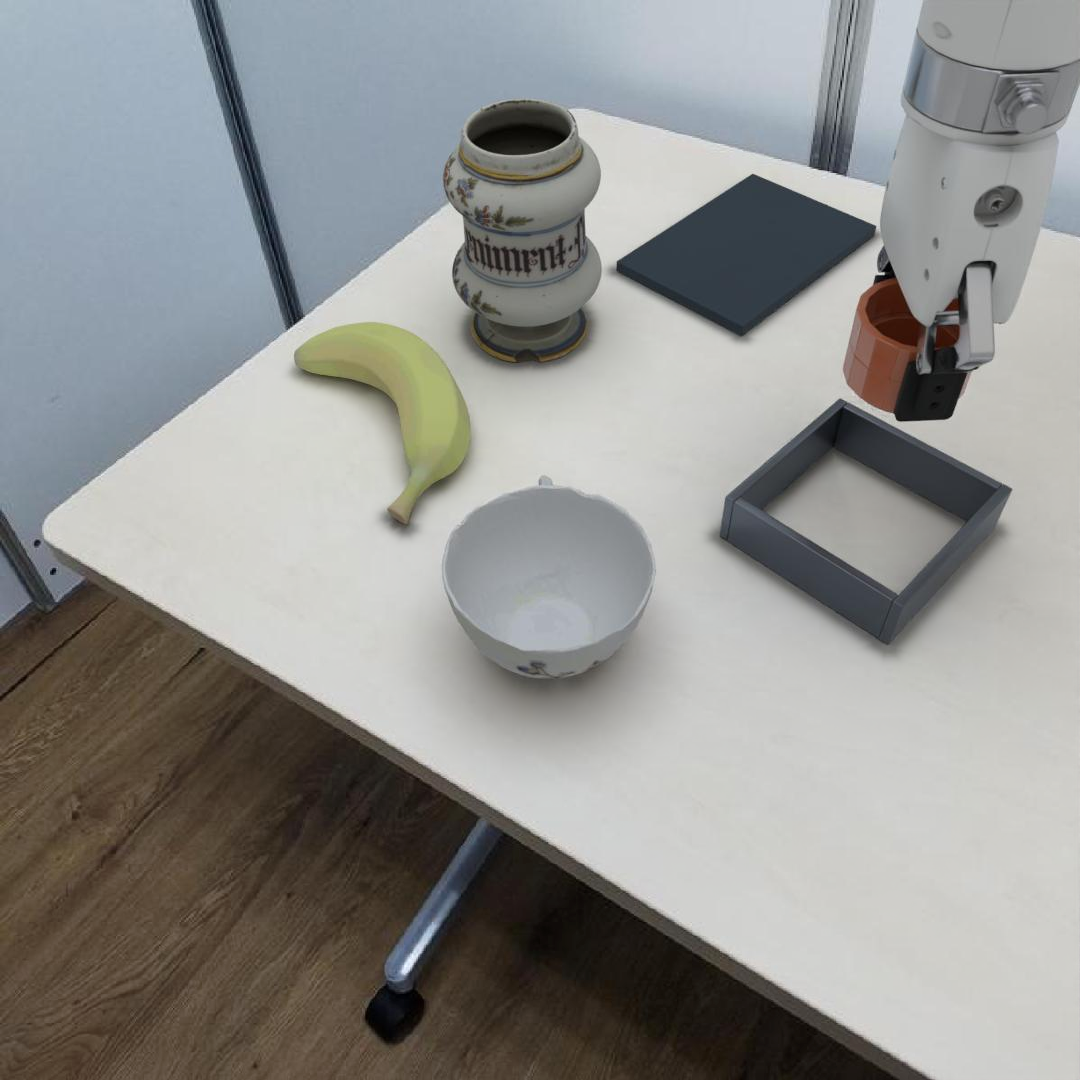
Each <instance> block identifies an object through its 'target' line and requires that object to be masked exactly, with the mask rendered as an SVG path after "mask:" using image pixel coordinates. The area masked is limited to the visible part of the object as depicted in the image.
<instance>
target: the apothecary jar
mask: <svg viewBox="0 0 1080 1080" xmlns="http://www.w3.org/2000/svg"><path fill="white" fill-rule="evenodd" d="M601 178H602V170H601V165H600V161H599V159H598V156H597V154H596V153H595V151H594V150H593V148H592V147H591V146H590V145H589V144H588V143H587V141H585V140H584V139H583V138H582V137H581V136H579V128H578V124H577V121H576V119H575V116H574V115H573V114H572V113H571V111H570V110H569V109H567V108H565V107H564V106H562V105H561V104H559V103H556V102H553V101H549V100H544V99H538V98H529V97H528V98H527V97H525V98H524V97H523V98H510V99H504V100H499V101H496V102H492V103H490V104H487V105H484V106H483V107H480V108H479V109H476V110H475V111H474V112H473V113H472V114H470V115H469V116H468V117H467V119H466V120H465V121H464V123H463V125H462V127H461V132H460V142H459V143H458V145H457V146H455V148H454V149H453V151H452V152H451V154H450V155H449V157H448V158H447V161H446V163H445V165H444V168H443V175H442V184H443V190H444V192H445V196H446V198H447V200H448V202H449V204H451V206H452V208H454V209H455V211H456V212H458V214H460V215H461V216H462V222H463V233H464V234H463V236H464V242H463V243H462V245H460V247H459V248H458V250H457V252H456V254H455V257H454V259H453V263H452V268H451V269H452V271H451V277H452V282H453V286H454V289H455V291H456V293H457V295H458V296H459V298H460V299H461V301H462V302H463V303H464V304H465V305H466V306H467V307H468V308H469V309H470V310H472V311H473V312H475V313H474V314H473V316H472V318H471V322H470V332H471V336H472V337H473V340H474V342H475V343H476V344H477V346H478V347H479V348H480V349H481V350H483V352H485V353H486V354H488V355H490V356H491V357H493V358H496V359H499V360H503V361H505V362H510V363H519V362H523V361H528V360H533V361H536V362H539V363H544V362H549V361H552V360H556V359H558V358H561V357H564V356H566V355H567V354H569V353H570V352H572V351H573V350H575V349H576V348H577V346H579V345H580V344H581V342H582V341H583V340H584V338H585V337H586V334H587V328H588V322H587V318H586V315H585V313H584V311H583V309H582V308H583V307H584V306H585V305H586V304H587V303H588V302H589V301H590V299H592V297H593V296H594V295H595V293H596V291H597V290H598V287H599V285H600V282H601V278H602V274H603V273H602V271H603V267H602V261H601V260H602V259H601V256H600V253H599V251H598V249H597V247H596V246H595V244H594V243H593V242H592V240H591V239H590V238H589V237H588V236H587V234H586V215H585V214H586V212H585V211H586V208H588V206H589V205H590V204H591V202H593V200H594V198H595V196H596V195H597V193H598V191H599V188H600V184H601V180H602V179H601Z"/></svg>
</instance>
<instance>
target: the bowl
mask: <svg viewBox="0 0 1080 1080" xmlns="http://www.w3.org/2000/svg"><path fill="white" fill-rule="evenodd" d="M944 311H959V310H958V300H952V302H951V303H950V304H949V305H948V306H947V307H946V309H945V310H944ZM918 331H919V321H918V320H917V319H916V318H915V317H914V316H913V314H912V313H911V311H910V308H909V306H908V304H907V302H906V299H905V297H904V295H903V292H902V290H901V287H900V285H899V283H898V280H897V278H896V277H895V278H891V279H888V280H885V281H882V282H879V283H876V284H874V285H873V284H872V285H871V286H870V287H869V288H868V289H866V290H865V291H864V292H862V293H861V295H860V296H859V300H858V303H857V306H856V309H855V312H854V318H853V322H852V327H851V331H850V335H849V340H848V344H847V348H846V351H845V357H844V361H843V366H842V372H843V375H844V380H845V382H846V385H847V386H848V387H849V389H851V391H853V393H854V394H855V395H856V396H857V397H859V398H860V399H861V400H863V401H864V402H865V403H866V404H868V405H870V406H872V407H873V408H875V409H877V410H879V411H882V412H885V413H889V414H893V415H894V408H895V404H896V401H897V398H898V394H899V391H900V387H901V384H902V380H903V377H904V374H905V370H906V367H907V363H908V361H914V360H916V354H917V342H918ZM958 339H959V326H938V327H937V329H936V339H935V350H937V349H940V348H943V347H952V346H954V344H955V343H956V342H957V341H958ZM971 375H972V372H968V373H967V376H966V379H965V382H964V384H963V387H962V390H961V393H960V396H959V399H960V398H961V397H962V396H963V395H964V393H965V392H966V389H967V386H968V384H969V380H970V378H971Z"/></svg>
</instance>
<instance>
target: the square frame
mask: <svg viewBox="0 0 1080 1080" xmlns="http://www.w3.org/2000/svg"><path fill="white" fill-rule="evenodd" d="M832 448H834V449H837V450H838V451H840V452H842V453H844V454H845V455H847V456H849V457H851V458H853V459H855V460H856V461H858V462H859V463H862V464H863V465H866V466H867V467H869V468H870V469H872V470H874V471H876V472H878V473H879V474H881V475H883V476H885V477H887V478H889V479H890V480H892V481H894V482H896V483H897V484H899V485H902V486H903V487H905V488H906V489H908V490H910V491H912V492H914V493H915V494H917V495H919V496H921V497H923V498H924V499H926V500H928V501H930V502H932V503H933V504H935V505H936V506H939V507H940V508H942V509H944V510H945V511H948V512H950V513H952V514H953V515H955V516H957V517H958V518H961V519H962V520H964V521H966V522H965V524H964V525H963V526H961V528H960V529H959V530H958V531H957V532H956V533H955V535H953V536H952V537H951V538H950V540H948V542H947V543H946V544H945V545H944V546H943V547H942V548H941V549H940V550H939V551H938V552H937V553H936V554H935V555H934V557H932V559H931V560H930V561H929V562H928V563H927V564H926V565H925V566H924V568H922V570H921V571H920V572H919V573H918V574H917V575H916V576H914V578H913V579H912V580H911V581H910V582H909V583H908V584H907V585H906V587H904V589H903V590H902V591H900V593H897V592H895V591H893V590H892V589H891V588H888V587H887V586H885V585H884V584H882V583H881V582H879V581H877V580H875V578H873V577H870V576H869V575H867V574H866V573H864V572H862V571H861V570H860V569H857V568H856V567H855V566H853V565H851V564H849V563H848V562H846V561H845V560H843V559H842V558H840V557H838V556H836V555H835V554H833V553H832V552H830V551H828V550H827V549H825V548H824V547H822V546H820V545H819V544H817V543H815V542H814V541H812V540H811V539H809V538H808V537H806V536H804V535H803V534H801V533H799V532H798V531H796V530H794V529H793V528H791V527H790V526H788V525H786V524H785V523H783V522H781V521H779V520H778V519H777V518H775V517H773V516H772V515H770V514H768V513H767V512H766V511H764V510H763V509H764V508H766V506H767V505H769V504H770V503H771V502H772V501H774V499H776V497H778V496H779V495H780V494H781V493H782V492H783V491H784V490H785V489H787V488H788V487H789V486H790V485H791V484H792V483H793V482H795V480H797V479H798V478H799V477H800V476H801V475H802V474H803V473H805V472H806V471H807V470H808V469H809V468H810V467H811V466H812V465H813V464H814V463H816V462H817V461H818V460H819V459H820V458H821V457H822V456H824V455H825V454H826V453H827V452H828V451H829V450H830V449H832ZM1012 492H1013V488H1012V487H1010V486H1008V485H1006V484H1004V483H1003V482H1000V481H998V480H996V479H995V478H993V477H991V476H989V475H987V474H985V473H984V472H982V471H980V470H978V469H975V468H974V467H972V466H970V465H968V464H966V463H964V462H962V461H960V460H959V459H957V458H955V457H953V456H951V455H949V454H947V453H945V452H943V451H941V450H939V449H938V448H935V447H934V446H932V445H930V444H928V443H926V442H925V441H922V440H920V439H919V438H917V437H915V436H913V435H911V434H909V433H908V432H906V431H903V430H902V429H900V428H898V427H896V426H894V425H892V424H891V423H888V422H886V421H884V419H883V420H882V419H881V418H879V417H877V416H875V415H874V414H871V413H869V412H868V411H866V410H864V409H862V408H860V407H858V406H856V405H854V404H852V403H851V402H848V401H846V400H844V399H843V398H841V397H840V398H838V399H836V401H835V402H834V403H832V404H831V405H830V406H829V407H828V408H827V409H826V410H824V411H823V412H822V413H821V414H820V415H819V416H817V417H816V418H815V419H814V420H813V421H812V422H810V423H809V424H808V425H806V427H804V429H802V430H801V431H800V432H799V433H798V434H797V435H796V436H794V437H793V438H792V439H790V441H788V442H787V443H786V444H785V445H784V446H783V447H782V448H780V449H779V450H778V451H777V452H775V454H773V456H771V457H770V458H769V459H767V460H766V461H765V462H764V463H762V464H761V465H760V466H759V467H758V468H757V469H755V471H754V472H752V473H751V474H750V475H749V476H748V477H746V479H744V480H743V481H742V482H741V483H740V484H739V485H738V486H736V487H735V488H734V489H732V490H731V491H730V492H729V493H728V494H727V495H726V496H725V498H724V505H723V511H722V515H721V516H722V518H721V524H720V531H719V537H720V538H722V539H724V540H725V541H727V542H728V543H730V544H731V545H733V546H734V547H736V548H737V549H739V550H740V551H742V552H744V553H745V554H746V555H748V556H750V557H751V558H753V559H754V560H756V561H757V562H759V563H760V564H762V565H763V566H766V567H767V568H768V569H770V570H772V571H773V572H774V573H776V574H778V575H779V576H781V577H782V578H784V579H785V580H787V581H789V582H790V583H791V584H792V585H795V586H796V587H798V588H799V589H800V590H802V591H804V592H805V593H807V594H808V595H810V596H811V597H813V598H815V599H816V600H818V601H819V602H820V603H822V604H823V605H825V606H827V607H828V608H829V609H832V610H833V611H835V612H836V613H838V614H839V615H841V616H843V617H844V618H846V619H847V620H849V621H850V622H852V623H854V624H855V625H856V626H858V627H859V628H861V629H863V630H864V631H866V632H867V633H869V634H870V635H872V636H873V637H875V638H877V639H878V640H879V641H880V642H882V643H884V644H886V645H887V646H889V645H890V644H891V642H893V641H894V639H895V638H896V637H897V636H898V635H899V634H900V633H901V632H902V631H903V630H904V629H905V627H906V626H907V625H908V624H909V623H910V622H911V621H912V620H913V618H914V617H915V616H916V615H917V614H918V613H919V612H920V611H921V610H922V608H923V607H924V606H925V605H926V604H927V603H928V602H929V601H930V600H931V599H932V598H933V597H934V596H935V595H936V594H937V593H938V591H939V590H940V589H941V588H942V587H943V585H944V584H946V582H947V581H948V580H949V579H950V578H951V577H953V575H954V574H955V573H956V571H957V570H958V569H960V567H961V566H962V565H963V564H964V563H965V562H966V561H967V559H968V558H969V557H970V556H972V554H973V553H974V552H975V550H977V548H979V546H980V545H981V544H982V543H983V542H984V541H985V540H986V538H987V537H988V536H989V535H990V534H991V533H992V532H993V531H995V528H996V526H997V524H998V522H999V520H1000V518H1001V515H1002V513H1003V511H1004V509H1005V507H1006V505H1007V502H1008V501H1009V498H1010V496H1011V494H1012Z"/></svg>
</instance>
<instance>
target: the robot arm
mask: <svg viewBox="0 0 1080 1080" xmlns="http://www.w3.org/2000/svg"><path fill="white" fill-rule="evenodd" d="M912 42H913V43H912V47H911V51H910V56H909V60H908V64H907V68H906V73H905V77H904V81H903V86H902V90H901V93H900V104H901V107H902V108H903V111H904V113H905V117H904V119H903V122H902V126H901V130H900V133H899V137H898V139H897V143H896V146H895V149H894V154H893V157H892V161H891V164H890V169H889V172H888V175H887V176H888V177H887V180H886V185H885V188H884V189H885V190H884V194H883V198H882V199H883V200H882V204H881V211H880V216H879V217H880V218H879V230H880V236H881V240H882V244H883V246H882V247H881V249H880V250H879V252H878V254H877V258H876V259H877V260H876V268H877V272H878V273H880V274H875V275H874V278H873V282H872V286H873V285H874V284H876V283H879V282H882V281H885V280H888V279H891V278H895V277H896V278H897V280H898V283H899V285H900V287H901V290H902V292H903V295H904V297H905V299H906V302H907V304H908V306H909V308H910V311H911V313H912V314H913V316H914V317H915V318H916V319H917V320H918V321H919V331H918V342H917V354H916V360H914V361H908V363H907V367H906V370H905V374H904V377H903V380H902V384H901V387H900V391H899V394H898V398H897V401H896V404H895V408H894V414H893V415H894V418H895V421H897V422H898V423H899V422H901V423H903V422H927V421H929V422H930V421H947V420H949V419H951V418H952V417H953V415H954V414H955V413H954V412H955V410H956V407H957V404H958V401H959V399H960V398H959V396H960V393H961V390H962V387H963V384H964V382H965V379H966V376H967V373H968V372H971V373H972V372H974V371H976V370H978V369H980V367H982V366H984V365H986V364H988V363H990V362H992V361H993V360H994V358H995V354H996V346H995V345H996V343H995V324H999V325H1003V324H1006V323H1007V322H1008V321H1009V320H1010V319H1011V317H1012V316H1013V314H1014V311H1015V310H1016V307H1017V304H1018V301H1019V298H1020V296H1021V293H1022V290H1023V287H1024V284H1025V281H1026V278H1027V275H1028V271H1029V268H1030V265H1031V262H1032V260H1033V259H1032V258H1033V255H1034V252H1035V250H1036V246H1037V242H1038V239H1039V237H1040V236H1039V235H1040V232H1041V228H1042V225H1043V222H1044V218H1045V214H1046V210H1047V206H1048V202H1049V197H1050V194H1051V188H1052V183H1053V180H1054V179H1053V178H1054V175H1055V174H1054V173H1055V169H1056V164H1057V163H1056V162H1057V156H1058V149H1059V143H1060V140H1059V137H1058V133H1057V132H1058V131H1060V130H1061V129H1062V128H1063V127H1064V125H1066V123H1067V121H1068V119H1069V116H1070V113H1071V111H1072V108H1073V104H1074V102H1075V98H1076V96H1077V94H1078V90H1079V87H1080V0H922V4H921V8H920V12H919V16H918V22H917V25H916V29H915V34H914V38H913V41H912ZM881 273H883V274H881ZM952 300H958V310H959V311H944V310H945V309H946V307H947V306H948V305H949V304H950V303H951V302H952ZM938 326H959V339H958V341H957V342H956V343H955V344H954V346H952V347H943V348H940V349H937V350H935V339H936V329H937V327H938Z"/></svg>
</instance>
